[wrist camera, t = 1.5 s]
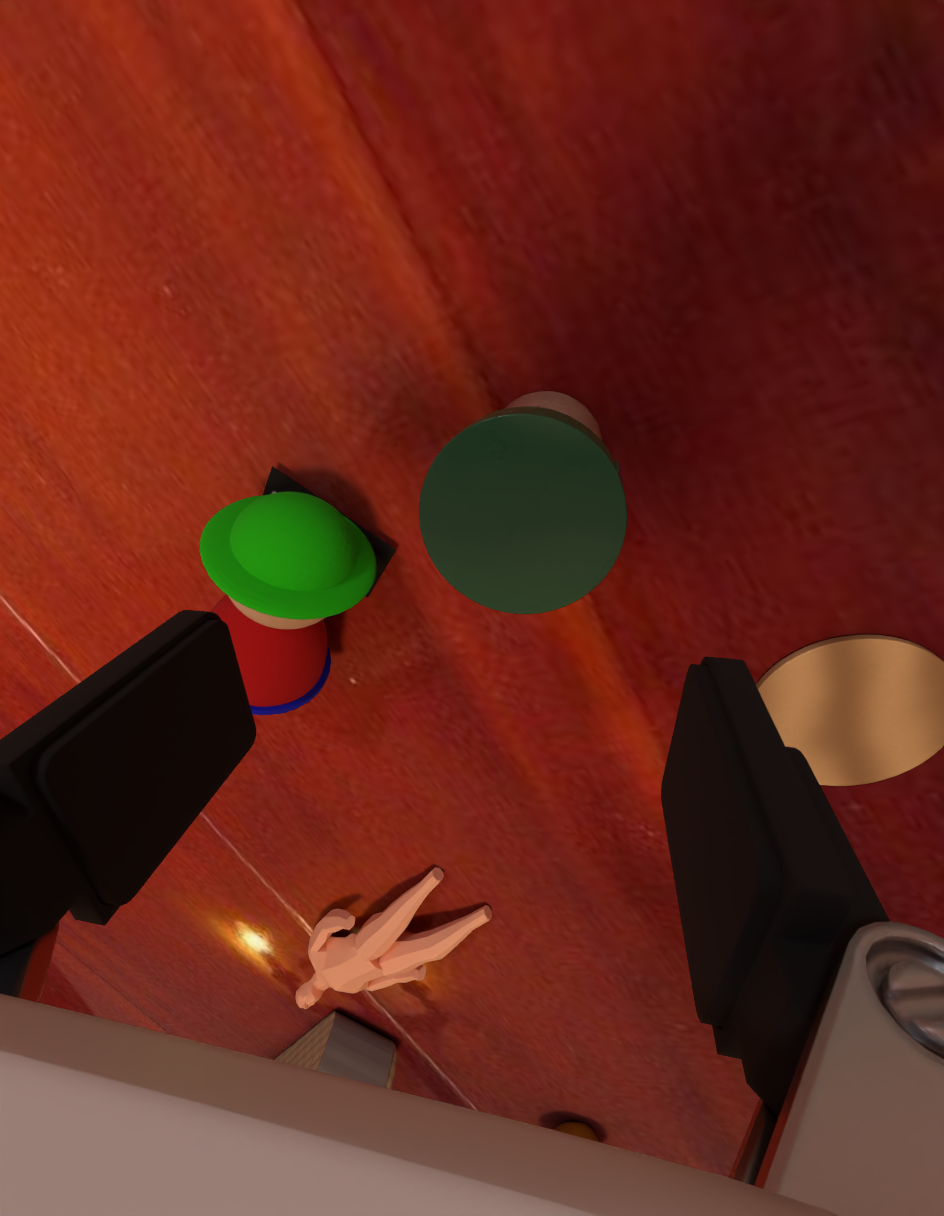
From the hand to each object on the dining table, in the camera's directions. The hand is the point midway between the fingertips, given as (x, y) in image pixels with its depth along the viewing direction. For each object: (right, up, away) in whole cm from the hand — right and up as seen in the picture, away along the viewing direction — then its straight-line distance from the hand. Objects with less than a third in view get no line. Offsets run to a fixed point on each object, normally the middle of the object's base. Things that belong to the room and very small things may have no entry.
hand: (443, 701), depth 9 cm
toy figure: (-10, +4, +25) cm, 27 cm away
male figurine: (-8, -30, +43) cm, 53 cm away
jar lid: (+2, +5, +9) cm, 10 cm away
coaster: (+23, -5, +22) cm, 32 cm away
